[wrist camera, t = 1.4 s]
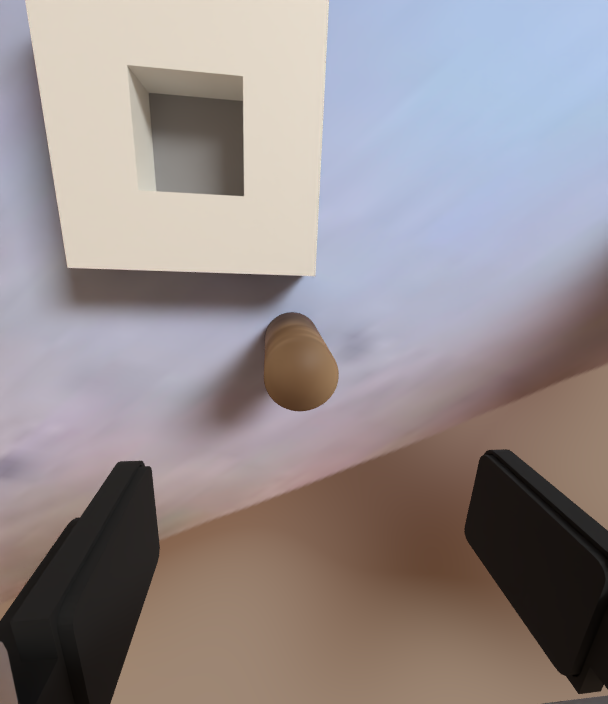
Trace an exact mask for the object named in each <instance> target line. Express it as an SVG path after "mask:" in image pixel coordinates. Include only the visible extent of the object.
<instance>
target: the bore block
mask: <svg viewBox="0 0 608 704" xmlns="http://www.w3.org/2000/svg"><path fill="white" fill-rule="evenodd" d="M25 2H26V8H27V14H28V21H29V27H30V33H31V40H32V46H33V52H34V59H35V65H36V71H37V78H38V84H39V90H40V97H41V103H42V109H43V116H44V122H45V128H46V135H47V141H48V147H49V153H50V160H51V166H52V172H53V179H54V185H55V191H56V198H57V204H58V210H59V217H60V223H61V229H62V236H63V242H64V248H65V255H66V261H67V267H68V268H90V269H120V270H149V271H179V272H209V273H238V274H268V275H297V276H315V270H316V250H317V230H318V210H319V189H320V169H321V149H322V129H323V109H324V89H325V69H326V49H327V29H328V8H329V0H25Z"/></svg>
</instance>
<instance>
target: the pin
mask: <svg viewBox="0 0 608 704" xmlns="http://www.w3.org/2000/svg"><path fill="white" fill-rule="evenodd" d="M338 374H339V373H338V367H337V364H336V361H335V359H334V358H333V356H332V354H331V352H330V351H329V349H328V347H327V346H326V344H325V342H324V340H323V339H322V337H321V335H320V334H319V332H318V330H317V329H316V327H315V325H314V324H313V322H312V321H311V320H310V319H309V318H308V317H306V316H304V315H302V314H300V313H294V312H290V313H284V314H281V315H279V316H278V317H276V318H275V319H274V320H273V321H272V322H271V323H270V324H269V326H268V328H267V330H266V334H265V359H264V383H265V387H266V390H267V392H268V394H269V396H270V397H271V398H272V399H273V400H274V401H275V402H276V403H277V404H278V405H280V406H281V407H283V408H286V409H289V410H293V411H307V410H311V409H314V408H317V407H319V406H320V405H322V404H323V403H325V402H326V401H327V400H328V399H329V398H330V397H331V396H332V394H333V393H334V391H335V389H336V386H337V383H338Z"/></svg>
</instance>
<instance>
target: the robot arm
mask: <svg viewBox="0 0 608 704" xmlns="http://www.w3.org/2000/svg"><path fill="white" fill-rule="evenodd" d="M465 536H466V539H467V541H468V543H469V544H470V545H471V547H472V549H473V550H474V551H475V553H476V554H477V556H478V557H479V559H480V560H481V561H482V563H483V564H484V566H485V567H486V569H487V570H488V572H489V573H490V574H491V576H492V577H493V579H494V580H495V582H496V583H497V584H498V586H499V587H500V589H501V590H502V592H503V593H504V595H505V596H506V598H507V599H508V600H509V602H510V603H511V605H512V606H513V608H514V609H515V610H516V612H517V613H518V615H519V616H520V618H521V619H522V620H523V622H524V623H525V625H526V626H527V627H528V629H529V631H530V632H531V634H532V635H533V636H534V638H535V639H536V640H537V642H538V644H539V645H540V646H541V648H542V649H543V651H544V652H545V654H546V655H547V656H548V658H549V659H550V661H551V662H552V664H553V665H554V667H555V668H556V669H557V670H558V671H559V672H560V673H561V674H563V675H565V676H566V677H567V678H568V680H569V681H570V682H571V684H572V685H573V687H574V688H575V690H576V691H577V692H578V694H583V693H591V692H598V691H601V690H602V687H603V685H605V686H606V688H607V689H608V531H607V530H606V529H605V528H604V527H603V526H601V525H600V524H599V523H598V522H597V521H595V520H594V519H593V518H592V517H590V516H589V515H588V514H587V513H585V512H584V511H583V510H582V509H581V508H580V507H578V506H577V505H576V504H574V503H573V502H572V501H571V500H570V499H569V498H567V497H566V496H565V495H564V494H563V493H561V492H560V491H559V490H558V489H556V488H555V487H554V486H553V485H552V484H550V483H549V482H548V481H546V479H544V478H543V477H542V476H541V475H539V474H538V473H537V472H536V471H535V470H533V469H532V468H531V467H530V466H529V465H527V464H526V463H525V462H523V461H522V460H521V459H520V458H519V457H517V456H516V455H515V454H514V453H513V452H511V451H510V450H488V451H486V453H485V454H484V455H483V456H481V458H480V460H479V464H478V469H477V474H476V478H475V483H474V487H473V492H472V496H471V501H470V506H469V510H468V514H467V519H466V524H465ZM159 549H160V547H159V536H158V527H157V517H156V507H155V498H154V488H153V478H152V470H151V467H150V466H145V465H144V463H143V461H121V462H118V463H117V464H116V465H115V467H114V468H113V470H112V471H111V473H110V474H109V476H108V477H107V479H106V480H105V482H104V483H103V485H102V486H101V488H100V489H99V491H98V492H97V494H96V495H95V496H94V498H93V499H92V501H91V502H90V504H89V505H88V507H87V508H86V510H85V511H84V513H83V514H82V516H81V517H80V518H75V519H73V520H72V521H71V522H70V523H69V524H68V525H67V527H66V528H65V529H64V531H63V532H62V534H61V535H60V537H59V538H58V539H57V541H56V542H55V544H54V545H53V546H52V548H51V549H50V551H49V552H48V554H47V555H46V556H45V558H44V559H43V561H42V562H41V564H40V565H39V566H38V568H37V569H36V571H35V572H34V574H33V575H32V576H31V578H30V579H29V581H28V582H27V583H26V585H25V586H24V588H23V589H22V591H21V592H20V593H19V595H18V596H17V598H16V599H15V601H14V602H13V603H12V605H11V606H10V608H9V609H8V611H7V612H6V613H5V615H4V616H3V618H2V619H1V621H0V704H110V703H111V700H112V697H113V694H114V691H115V688H116V685H117V682H118V679H119V676H120V673H121V670H122V667H123V664H124V661H125V658H126V655H127V652H128V649H129V646H130V643H131V640H132V637H133V634H134V631H135V628H136V625H137V622H138V619H139V616H140V613H141V610H142V607H143V604H144V601H145V598H146V595H147V592H148V589H149V586H150V583H151V580H152V577H153V574H154V571H155V568H156V565H157V562H158V558H159ZM545 704H608V696H601V697H592V698H584V699H577V700H568V701H560V702H552V703H545Z"/></svg>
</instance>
